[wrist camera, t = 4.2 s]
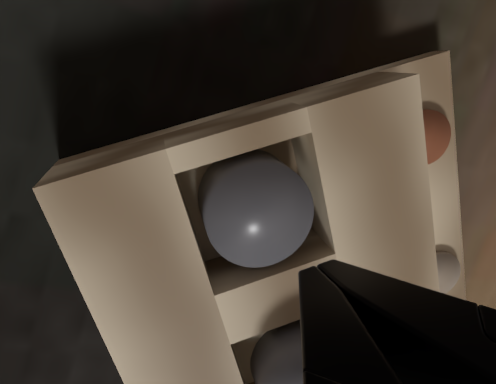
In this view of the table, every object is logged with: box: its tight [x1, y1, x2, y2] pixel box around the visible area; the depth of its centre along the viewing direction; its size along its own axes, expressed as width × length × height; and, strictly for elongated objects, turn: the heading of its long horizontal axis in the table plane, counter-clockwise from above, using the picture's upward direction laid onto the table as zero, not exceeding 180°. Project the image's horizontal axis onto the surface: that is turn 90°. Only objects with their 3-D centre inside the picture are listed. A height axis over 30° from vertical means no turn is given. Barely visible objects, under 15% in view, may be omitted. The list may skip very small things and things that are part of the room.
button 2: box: [198, 149, 314, 268], centre depth 14 cm, size 4×4×2 cm
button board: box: [32, 51, 466, 384], centre depth 17 cm, size 15×19×4 cm
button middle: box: [250, 319, 303, 384], centre depth 15 cm, size 4×4×2 cm
